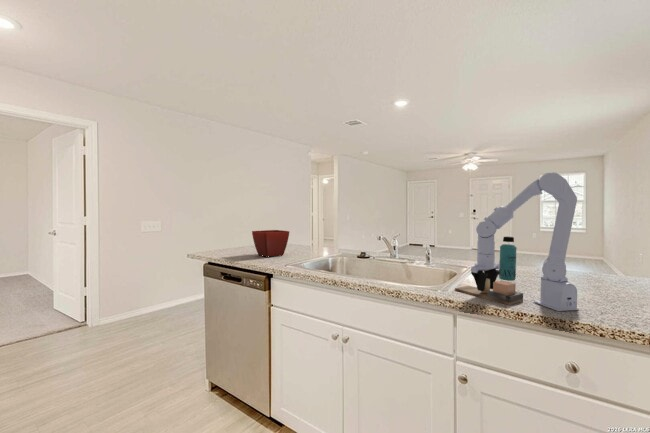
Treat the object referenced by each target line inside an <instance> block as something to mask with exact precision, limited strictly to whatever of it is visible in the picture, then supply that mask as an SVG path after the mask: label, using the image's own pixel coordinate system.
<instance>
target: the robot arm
mask: <svg viewBox="0 0 650 433" xmlns="http://www.w3.org/2000/svg"><path fill="white" fill-rule="evenodd" d="M543 192H545V193H547V194H548V195H551V196H552V197H553V198H554V199H555V201H556V202H558V206H557V212H556V217H555V222H554V226H553V230H552V231H553V232H552V235H551V236H552V237H551V241H550V246H549V251H548V256H547V258H546V259H545V260H544V261H543V264H542V267H541V272H542V274H543V275H541V276H540V297H539V299H540V300H533V303H535V304H538V305H540V306H543V307H545V308H549V309H550V310H553V311H554V310H555V311H557V312H564V311H565V312H566V311H579V310H580V308H579V307H578V289H577V286H575V285H574V284H573V283H570V282H569V278H568V277H566V275H567V265H566V256H567V250H568V246H569V240H570V236H571V233H572V232H571V231H572V227H573V222H574V216H575V212H576V208H577V203H578V196H577V195H576V193H575V192H574V190H573V189H572V186H570V184H569V182H568V180H567V179H566V178H565V177H563V176H562V175H561V174H559V173H557V172H554V171H553V172H552V171H551V172H547V173H544V174H543V175H541V176H540V178H539V179H537V178H536V179H535V180H534V181H533V182H531V183H530V184H528V185H527V186H526V187H525V188H524V189H523V190H522V191H521V192H519V193H518V194H517V196H516V197H514V198H513V199H512V200H511V201H510V202H509V203H508V204H507V205H500V206H498V207H497V206H495V208H494V209H493V212H492V213H491V214H489V215H488V216H487V217H484V218H483V221H480V222H479V223H478V224H477V226H476V229H475V230H476V233H477V245H476V246H477V251H476V252H477V255H476V256H477V257H476V261H477V262H476V263H474V265H473V266H471V267H470V274H471V276H472V277H473V279H474V281H475V282H474V283H475V285H476V287H477V289H478V290H479V291H484V289H485V281H486V278H489V279H490V290H493V282H497V281H496V280H497V278H499V274H500V270H499V269H500V264H499V262H498V263H497V262H495V259H496V258H495V250H496V247H495V245H496V243H495V234H496V233H497V231H498V230H500V229H501V228H502V227H504V226H505V225H506V224H508V223H509V222H510V221H511V220H512V219H513V218H514V212H515V211H517V210H518V209H519V208H520V207H522V206H523V205H524V204H525V203H527V202H528V201H529V200H530V199H532V198H533V197H535V196H539V195H543Z"/></svg>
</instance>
